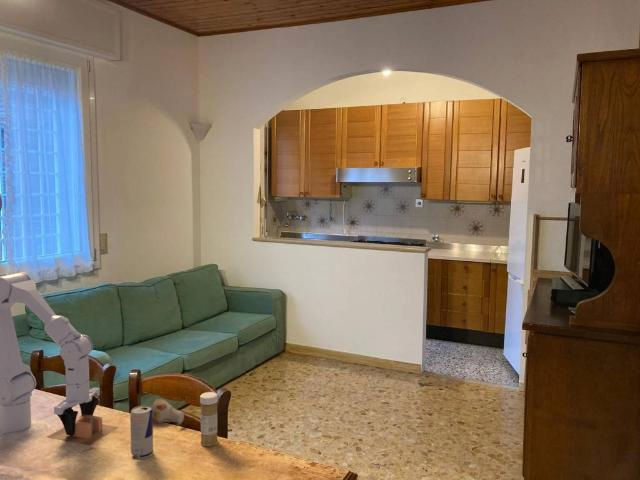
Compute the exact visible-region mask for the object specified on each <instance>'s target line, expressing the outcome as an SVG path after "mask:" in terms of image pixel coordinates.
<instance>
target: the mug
mask: <svg viewBox="0 0 640 480" xmlns="http://www.w3.org/2000/svg"><path fill="white" fill-rule="evenodd" d="M150 407H151V408H152V411H153V424H155V423H157V424H159V423H175V425H176V426H179V425H181V424H182V423H183V422H184V419H185V414H184V412H183V411H181V410H179V409H176V408H174V407H173V406H172V405H171V404H170V403H169V402H167V400H164V399H162V398H161V399H160V398H157V399H155V401H154V402H153V403H152V406H150Z"/></svg>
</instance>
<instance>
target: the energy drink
mask: <svg viewBox="0 0 640 480" xmlns="http://www.w3.org/2000/svg"><path fill="white" fill-rule="evenodd" d="M151 407H152V406H150V405H138V406H135V407H133V408H132V409H131V410H130V413H129V415H130V453H131V454H133V456H131V458H132V459H133V460H138V461H139V460H140V461H141V460H146V459H149V458H150V457H151V456H152V455H153V454H154V423H153V411H152V408H151Z"/></svg>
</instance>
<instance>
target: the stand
mask: <svg viewBox="0 0 640 480" xmlns="http://www.w3.org/2000/svg"><path fill="white" fill-rule="evenodd" d="M88 423H91V433H92V436H91V437H90V438H88V439H87V438H82V437H77V436H71V435H66V431H65V428H64V427H62V428H60V429H59V430H57V431H55V432H53V433H51V434H50V435H47V436H46V438H48V439H53V440H54V439H55V440H60V441H65V442H69V443H77V444H80V445H81V444H82V445H87V446H91V445H93V444H94V443H95V442H97V441H99V440H100V439H102V438H104V437H105V436H107V435H108V434H110V433H111V432H114V431H115V430H117V429H118V428H119V427H118V426H113V425H107V424H103V423H102V430H101V431H100V432H97V431H93V418H89V419H88Z"/></svg>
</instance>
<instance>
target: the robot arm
mask: <svg viewBox="0 0 640 480" xmlns="http://www.w3.org/2000/svg"><path fill="white" fill-rule="evenodd" d="M36 283H37V282H35V281H34V280H33V279H32V278H31V276H30V275H29V274H28V273H27V272H23V271H22V272H21V271H19V272H17V273H16V272H15V273H11V274H7V275H1V276H0V437H1V436H3V435H6V434H7V433H15V432H19V431H23V430H25V429H27V428H30V426H31V425H32V412H31V411H32V409H31V407H32V406H31V404H32V403H31V402H32V401H31V397H32V396H33V394H32V393H33V391H34V390H35V389H36V386H37V380H36V377H35V376H34V374H33V372H32V370H31V367H30V366H29V365H27V364H25V363H24V362H23V360H22V355H21V351H20V350H21V349H20V346H19V341H18V336H17V333H16V328H15V327H16V326H15V322H14V320H13V319H14V318H13V315H12V314H13V313H12V308H13V306H14V305H15V303H18V304H24V305H25V306H26V307H27V308H28V309H29V310H30V311H31V312H32V313H34V315H36V316H37V318H39V320H40V321H42V322H43V323H44V332H45V333H46V334H47V336H49V337H50V338H51V339H52V340H53V342H54V343H55V344H56V345H57V346H58V348H60V349H61V350H59V355H60V357H61V359H62V360H63V363H64V366H65V368H64V369H65V398H64V399H62V401H60V402H59V403H58V404H57V405H55V406H53V414H54V415H57V417H58V418H59V419H60V421H61V423H62V425H63V428H65V431H66V435H71V436H72V435H74V433H75V422H76V418H78V414H79V411H78V410H74V407H76V406H78V405H79V409H80V413H81V415H80V416H82V415H84V414H86V415H92V416H94V414H95V413H94V412H95V410H96V408H97V406H98V404H99V403H100V399H99V398H98V396H100V392H101V391H100V387H93V388H92V387H91V388H90V366H89V365H90V363H89V362H90V360H89V359H90V358H89V357H90V356H89V354H91V353H92V351H93V347H94V345H93V341H92V339H91V338H90V336H88V335H86V334H82V333H80V332H79V331H77V329H76V328H75V327H74V326H73V325H72V323H70V320H69V318H67V317H65V316H63V315H57V314H56V313H55V311H54V310H53V309H52V308H51V306H50V305H49V304H48V302H47V301H46V300H45V298H44V297H43V296H42V295H41V293H40V292H39V291H38V289H37V284H36Z"/></svg>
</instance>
